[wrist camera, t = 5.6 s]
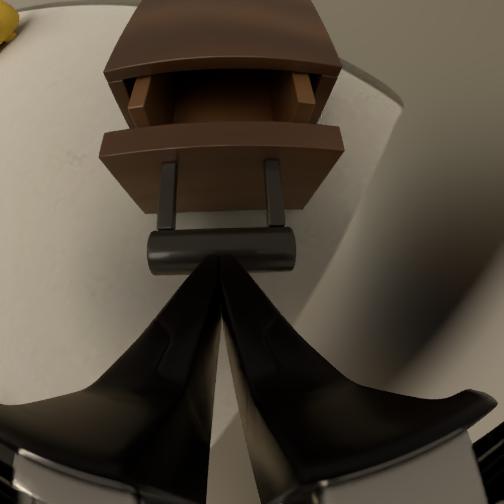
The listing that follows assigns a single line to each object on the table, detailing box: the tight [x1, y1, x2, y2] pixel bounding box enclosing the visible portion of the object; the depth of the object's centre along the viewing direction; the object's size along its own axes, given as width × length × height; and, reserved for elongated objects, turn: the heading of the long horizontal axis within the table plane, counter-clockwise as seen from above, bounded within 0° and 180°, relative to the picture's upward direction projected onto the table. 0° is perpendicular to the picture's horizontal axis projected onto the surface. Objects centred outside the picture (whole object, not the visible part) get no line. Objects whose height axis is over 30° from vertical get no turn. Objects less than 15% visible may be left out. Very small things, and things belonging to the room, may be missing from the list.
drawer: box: [99, 69, 344, 276], centre depth 13 cm, size 17×9×7 cm, turn 3°
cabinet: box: [103, 0, 342, 129], centre depth 15 cm, size 14×11×9 cm
